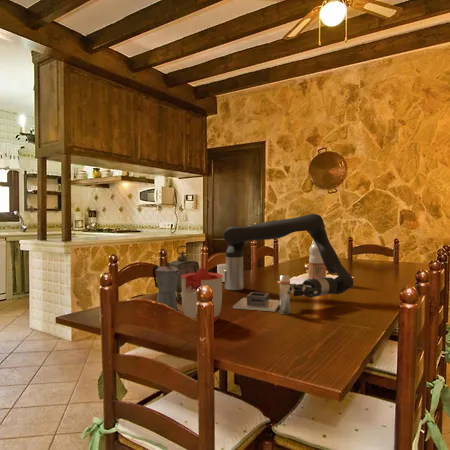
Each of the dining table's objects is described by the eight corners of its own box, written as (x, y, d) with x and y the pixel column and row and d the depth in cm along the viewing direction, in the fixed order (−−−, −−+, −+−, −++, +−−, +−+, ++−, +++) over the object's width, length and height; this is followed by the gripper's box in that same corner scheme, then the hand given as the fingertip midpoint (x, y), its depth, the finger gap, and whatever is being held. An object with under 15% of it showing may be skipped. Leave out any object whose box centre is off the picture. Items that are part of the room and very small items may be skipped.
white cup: (232, 280, 217) (232, 264, 217) (227, 283, 210) (227, 266, 209) (219, 280, 220) (219, 263, 219) (215, 282, 212) (215, 265, 212)
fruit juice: (305, 283, 209) (305, 234, 208) (314, 281, 215) (314, 233, 214) (320, 285, 202) (320, 235, 201) (328, 283, 208) (329, 234, 208)
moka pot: (172, 315, 143) (171, 264, 142) (143, 310, 151) (143, 262, 150) (187, 310, 151) (186, 262, 150) (159, 305, 159) (158, 259, 158)
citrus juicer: (171, 325, 130) (170, 269, 129) (192, 313, 146) (192, 263, 146) (210, 330, 124) (210, 272, 124) (229, 317, 140) (228, 265, 140)
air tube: (278, 314, 144) (278, 276, 144) (280, 311, 148) (280, 274, 148) (289, 314, 143) (289, 277, 142) (290, 312, 147) (290, 275, 146)
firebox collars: (232, 308, 153) (232, 297, 153) (242, 299, 168) (242, 289, 168) (275, 311, 148) (275, 300, 147) (281, 302, 163) (281, 291, 163)
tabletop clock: (176, 301, 165) (176, 247, 165) (164, 298, 171) (163, 246, 171) (199, 296, 176) (199, 245, 175) (187, 293, 182) (187, 244, 181)
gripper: (303, 276, 160) (275, 279, 152) (328, 281, 148) (299, 285, 140) (303, 293, 161) (275, 297, 152) (328, 299, 148) (299, 304, 140)
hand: (286, 291), depth 146 cm, fingers open, 8 cm apart
